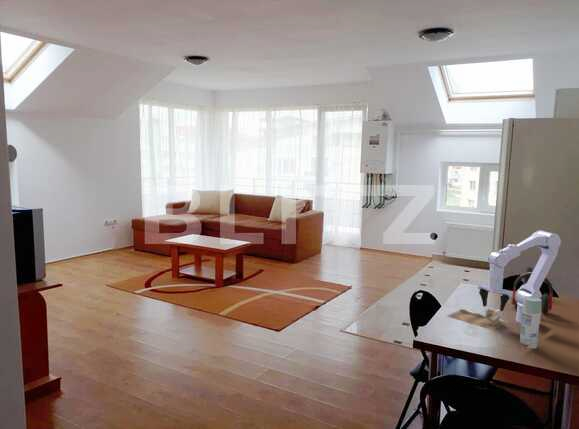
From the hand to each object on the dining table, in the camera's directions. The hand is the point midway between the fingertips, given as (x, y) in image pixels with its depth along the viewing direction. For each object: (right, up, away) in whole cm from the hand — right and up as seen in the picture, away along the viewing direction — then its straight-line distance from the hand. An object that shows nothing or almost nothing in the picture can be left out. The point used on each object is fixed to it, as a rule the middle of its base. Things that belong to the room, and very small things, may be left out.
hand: (493, 308), depth 203 cm
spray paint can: (+5, -12, -19) cm, 23 cm away
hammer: (+35, -4, +42) cm, 55 cm away
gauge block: (0, -7, +1) cm, 7 cm away
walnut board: (-5, -8, +6) cm, 11 cm away
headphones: (+29, -6, +23) cm, 37 cm away
